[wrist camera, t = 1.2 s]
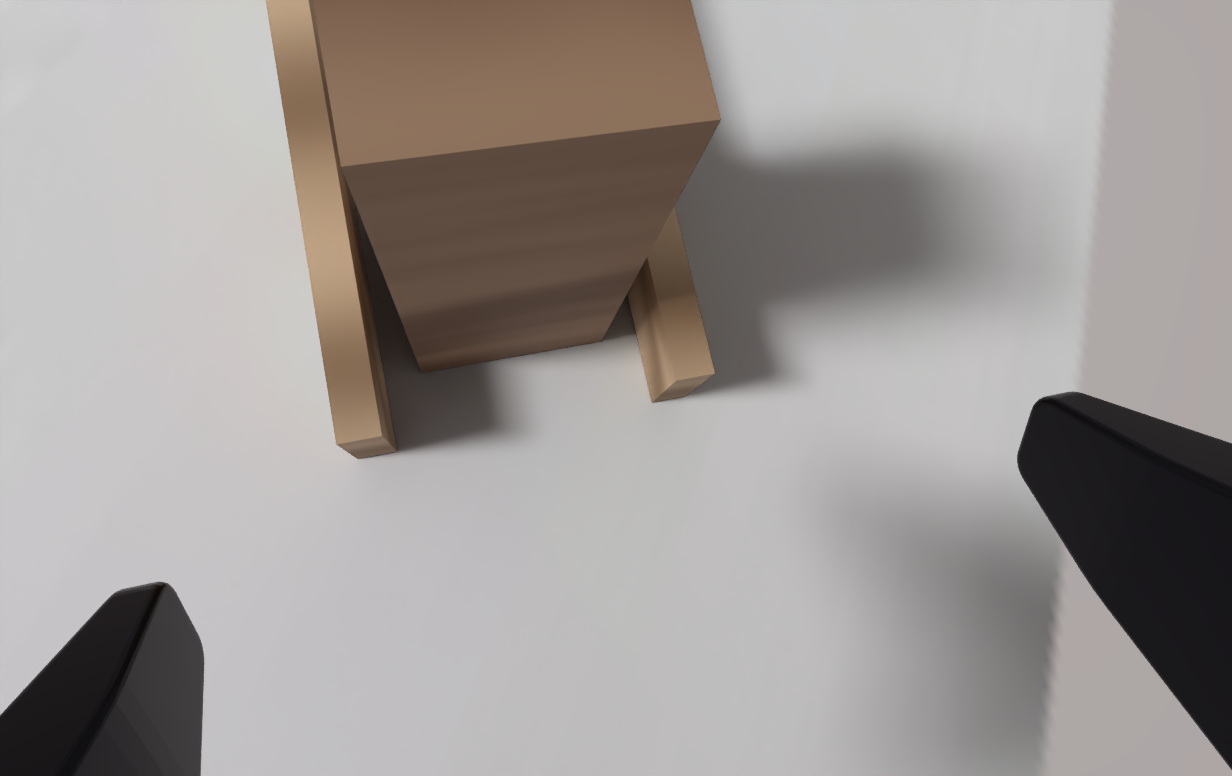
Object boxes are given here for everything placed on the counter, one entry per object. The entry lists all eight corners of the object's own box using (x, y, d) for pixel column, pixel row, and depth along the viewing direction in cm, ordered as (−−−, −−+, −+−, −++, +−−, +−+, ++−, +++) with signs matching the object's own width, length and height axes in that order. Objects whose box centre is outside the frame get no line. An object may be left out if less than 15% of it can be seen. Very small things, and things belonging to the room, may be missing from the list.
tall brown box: (601, 341, 22) (720, 119, 11) (421, 372, 22) (341, 166, 10) (565, 177, 23) (640, -194, 12) (390, 200, 22) (282, -177, 11)
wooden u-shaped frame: (685, 396, 22) (726, 363, 19) (357, 459, 21) (327, 438, 17) (542, -217, 26) (552, -353, 22) (249, -207, 24) (203, -352, 20)
